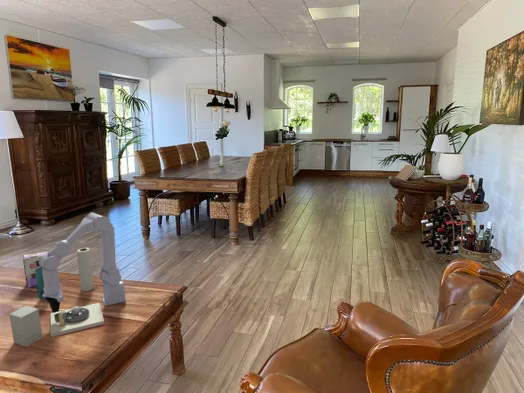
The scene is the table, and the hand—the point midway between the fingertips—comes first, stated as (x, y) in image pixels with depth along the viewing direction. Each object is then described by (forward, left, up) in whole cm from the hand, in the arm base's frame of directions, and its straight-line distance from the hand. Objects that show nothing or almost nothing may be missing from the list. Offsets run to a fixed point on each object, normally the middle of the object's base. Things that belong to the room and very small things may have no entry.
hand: (55, 311), depth 162 cm
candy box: (+6, -47, -5) cm, 48 cm away
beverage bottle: (+4, -26, -5) cm, 27 cm away
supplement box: (+10, +9, -5) cm, 15 cm away
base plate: (-8, +2, -5) cm, 9 cm away
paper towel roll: (-15, -29, -5) cm, 33 cm away
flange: (-6, +3, -3) cm, 7 cm away
